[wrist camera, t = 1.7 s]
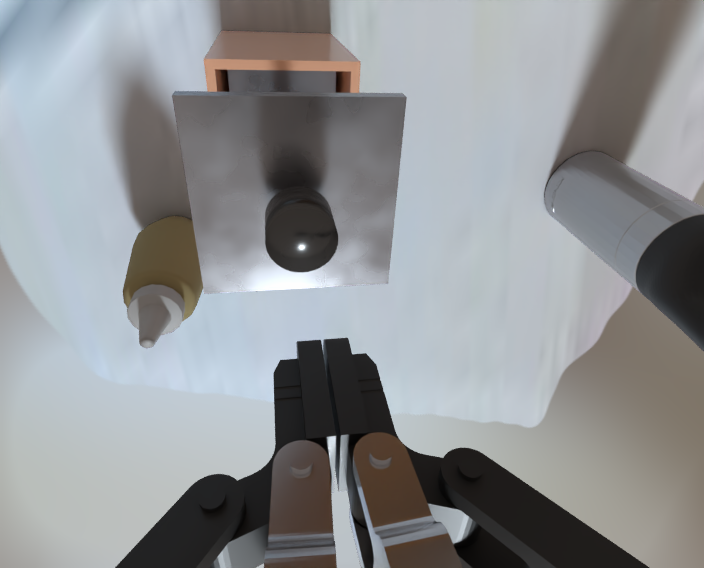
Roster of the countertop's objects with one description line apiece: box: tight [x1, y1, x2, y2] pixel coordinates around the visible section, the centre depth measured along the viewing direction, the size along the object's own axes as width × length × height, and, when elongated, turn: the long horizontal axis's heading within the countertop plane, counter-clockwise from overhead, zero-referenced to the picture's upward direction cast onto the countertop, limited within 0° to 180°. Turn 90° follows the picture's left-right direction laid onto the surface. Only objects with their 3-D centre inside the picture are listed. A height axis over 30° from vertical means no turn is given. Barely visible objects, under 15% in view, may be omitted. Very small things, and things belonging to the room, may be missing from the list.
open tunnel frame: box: [204, 31, 360, 93], centre depth 40 cm, size 10×10×16 cm
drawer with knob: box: [172, 70, 406, 294], centre depth 29 cm, size 10×10×20 cm
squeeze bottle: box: [123, 216, 203, 348], centre depth 46 cm, size 8×8×18 cm
